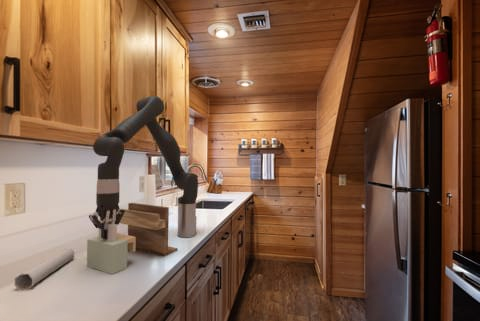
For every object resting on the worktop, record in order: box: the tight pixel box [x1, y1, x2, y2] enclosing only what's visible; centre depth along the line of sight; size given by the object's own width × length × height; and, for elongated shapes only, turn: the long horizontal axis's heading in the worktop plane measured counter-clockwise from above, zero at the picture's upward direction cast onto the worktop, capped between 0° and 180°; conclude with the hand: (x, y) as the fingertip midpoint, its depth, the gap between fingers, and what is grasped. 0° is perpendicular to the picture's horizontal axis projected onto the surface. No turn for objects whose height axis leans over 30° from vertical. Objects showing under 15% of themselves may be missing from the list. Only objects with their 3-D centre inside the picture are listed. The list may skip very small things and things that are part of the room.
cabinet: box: [86, 223, 136, 275], centre depth 94 cm, size 10×14×16 cm
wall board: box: [119, 202, 179, 257], centre depth 109 cm, size 12×22×20 cm, turn 64°
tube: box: [14, 248, 75, 291], centre depth 87 cm, size 5×5×25 cm
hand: (107, 238), depth 92 cm, fingers closed on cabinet, 1 cm apart
